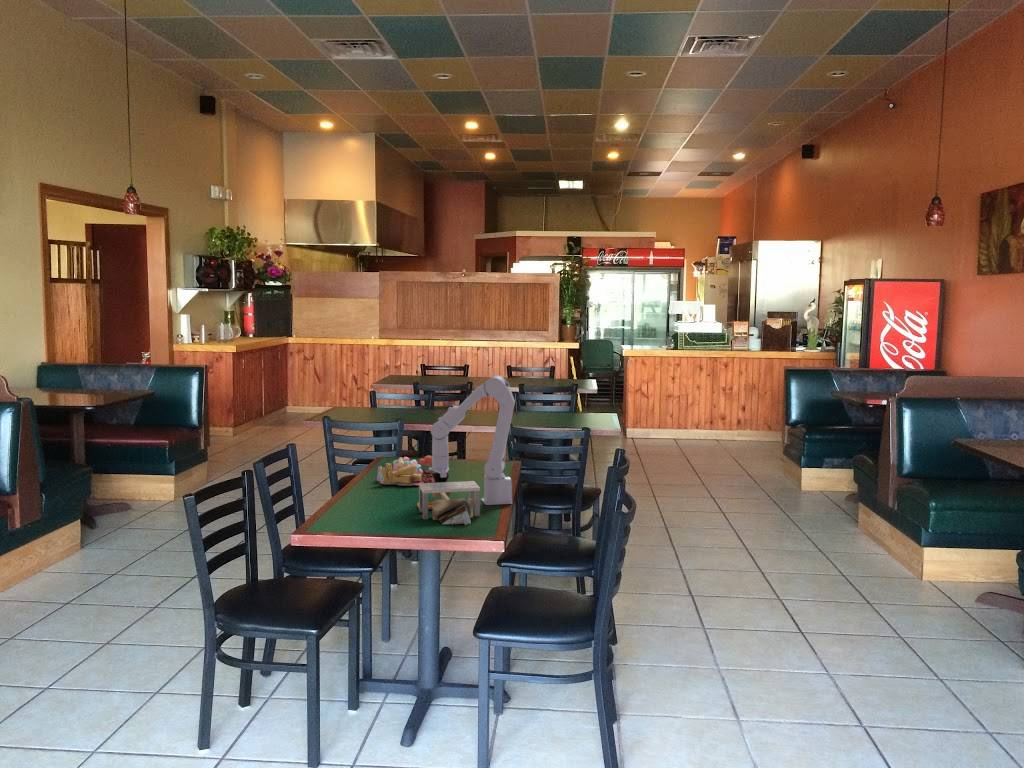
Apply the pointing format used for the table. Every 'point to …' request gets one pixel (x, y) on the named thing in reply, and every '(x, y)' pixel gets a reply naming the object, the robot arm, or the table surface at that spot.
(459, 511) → the chocolate cake
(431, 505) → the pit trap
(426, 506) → the tunnel
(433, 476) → the robot arm
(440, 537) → the table surface
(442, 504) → the sled
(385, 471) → the candy landscape model
